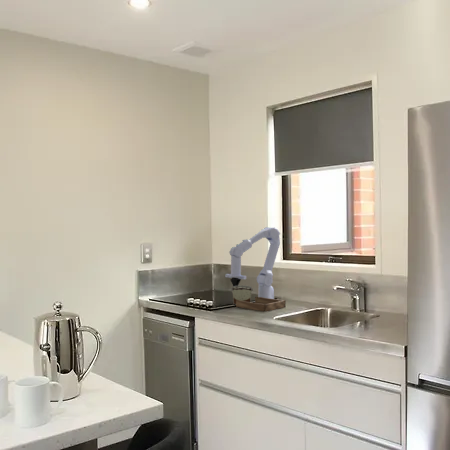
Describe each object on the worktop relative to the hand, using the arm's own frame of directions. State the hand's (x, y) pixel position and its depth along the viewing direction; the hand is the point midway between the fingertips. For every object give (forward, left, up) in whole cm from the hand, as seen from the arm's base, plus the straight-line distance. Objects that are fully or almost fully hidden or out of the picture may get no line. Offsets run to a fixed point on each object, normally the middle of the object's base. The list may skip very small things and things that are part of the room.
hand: (235, 290), depth 303 cm
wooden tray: (0, +18, -7) cm, 19 cm away
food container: (-1, +4, -7) cm, 8 cm away
